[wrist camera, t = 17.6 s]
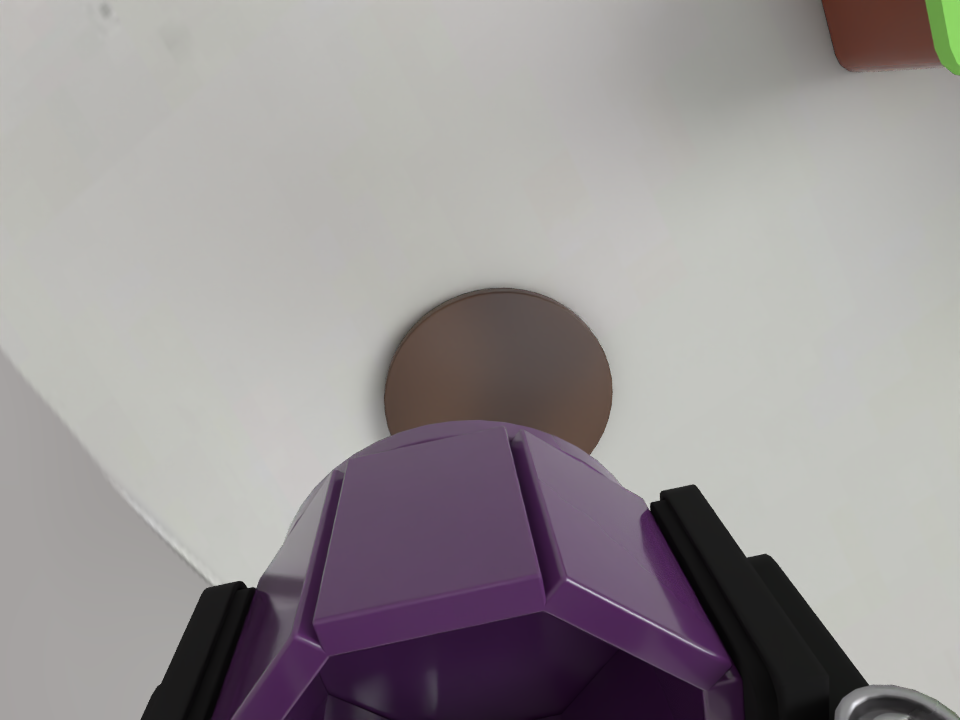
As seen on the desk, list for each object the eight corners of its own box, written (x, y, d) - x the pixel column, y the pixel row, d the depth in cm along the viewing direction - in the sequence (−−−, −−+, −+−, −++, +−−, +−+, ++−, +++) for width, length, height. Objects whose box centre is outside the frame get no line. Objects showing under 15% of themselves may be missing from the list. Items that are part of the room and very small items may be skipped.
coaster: (413, 512, 29) (413, 521, 28) (359, 314, 25) (357, 319, 25) (621, 469, 29) (625, 476, 28) (593, 265, 25) (597, 268, 25)
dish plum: (336, 751, 13) (301, 1016, 9) (226, 465, 11) (116, 664, 7) (665, 681, 13) (761, 917, 9) (626, 380, 11) (735, 533, 7)
